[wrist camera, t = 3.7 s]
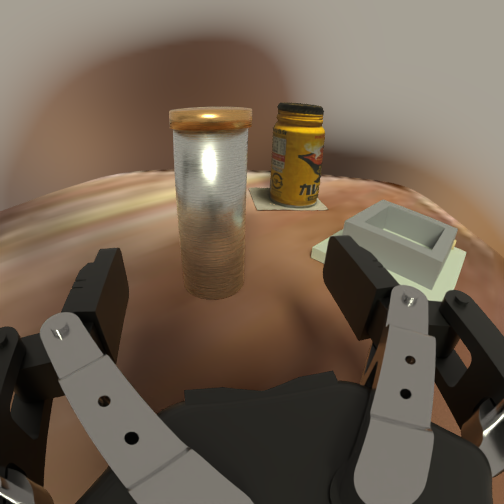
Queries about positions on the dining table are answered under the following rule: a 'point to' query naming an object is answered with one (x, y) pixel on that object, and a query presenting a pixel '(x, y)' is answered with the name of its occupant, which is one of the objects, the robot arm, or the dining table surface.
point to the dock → (406, 247)
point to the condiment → (294, 160)
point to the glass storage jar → (211, 196)
